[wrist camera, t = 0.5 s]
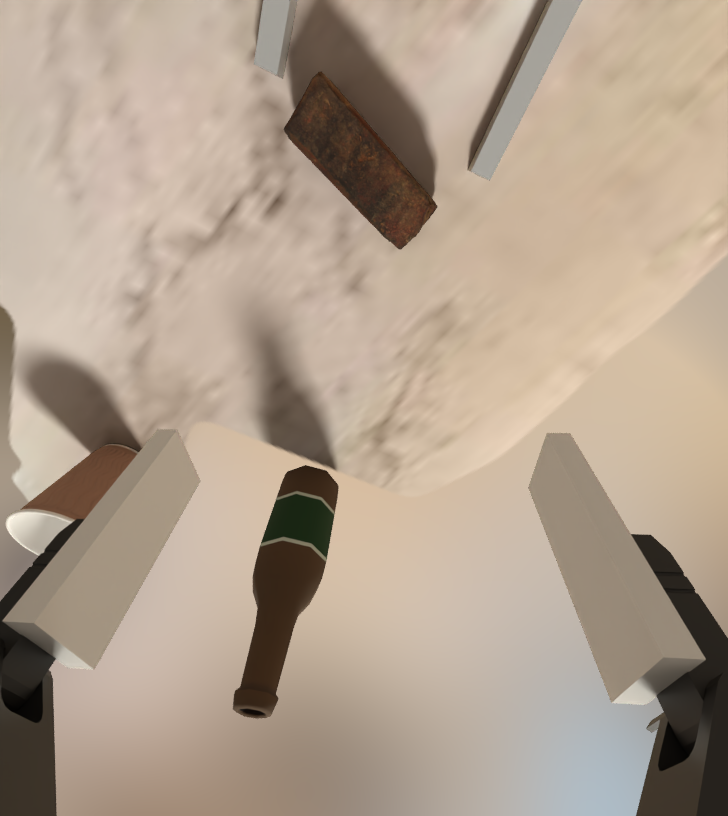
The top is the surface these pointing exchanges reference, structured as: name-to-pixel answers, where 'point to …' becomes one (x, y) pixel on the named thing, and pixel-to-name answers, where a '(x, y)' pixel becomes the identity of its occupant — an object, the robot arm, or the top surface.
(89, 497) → the coffee cup
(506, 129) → the rails
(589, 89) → the top surface
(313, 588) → the beer bottle
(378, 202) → the brick
